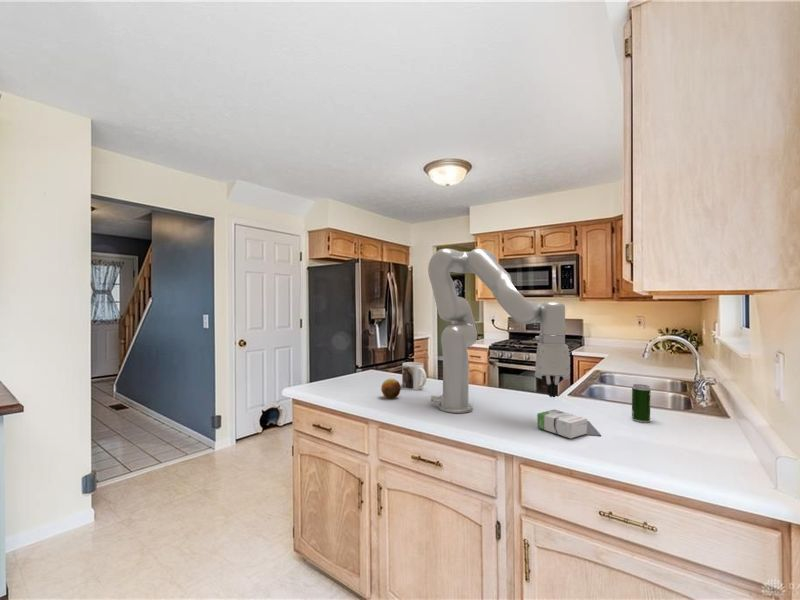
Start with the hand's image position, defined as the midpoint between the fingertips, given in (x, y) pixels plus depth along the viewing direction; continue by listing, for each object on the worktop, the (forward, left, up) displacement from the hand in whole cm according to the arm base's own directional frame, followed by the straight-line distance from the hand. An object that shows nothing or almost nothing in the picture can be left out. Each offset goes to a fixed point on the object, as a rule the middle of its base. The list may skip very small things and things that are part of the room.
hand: (551, 396), depth 126 cm
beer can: (+31, +13, -10) cm, 35 cm away
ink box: (-2, -1, -7) cm, 7 cm away
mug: (-53, +41, -10) cm, 68 cm away
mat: (+6, 0, -10) cm, 12 cm away
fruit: (-59, +21, -10) cm, 63 cm away
